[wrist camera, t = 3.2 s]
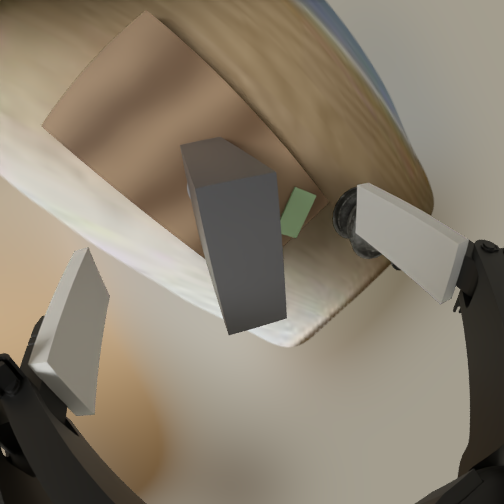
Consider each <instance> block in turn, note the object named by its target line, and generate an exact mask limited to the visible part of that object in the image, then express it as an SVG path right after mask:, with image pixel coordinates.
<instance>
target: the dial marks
mask: <svg viewBox="0 0 504 504" xmlns="http://www.w3.org/2000/svg"><path fill="white" fill-rule="evenodd" d="M315 198H316V195H314V194H312V193H309V192H307V191H304V190H302V189H299V188H297V187H294V189H293V191H292V193H291V195H290V198H289V200H288V202H287V204H286V206H285V209H284V211H283V213H282V215H281V217H280V222H281V234H283V235H287V236H290V237H294V238H297V236H298V234H299V232H300V230H301V227H302V225H303V223H304V221H305V219H306V217H307V215H308V213H309V211H310V209H311V206H312V204H313V202H314V200H315Z"/></svg>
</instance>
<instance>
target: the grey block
mask: <svg viewBox="0 0 504 504" xmlns="http://www.w3.org/2000/svg"><path fill="white" fill-rule="evenodd" d="M180 148H181V153H182V159H183V164H184V169H185V174H186V179H187V191H188V195H189V197H190V199H191V202H192V207H193V212H194V216H195V221H196V225H197V230H198V234H199V238H200V241H201V245H202V248H203V252H204V255H205V259H206V262H207V266H208V269H209V273H210V276H211V279H212V283H213V286H214V289H215V293H216V296H217V299H218V302H219V306H220V309H221V312H222V315H223V319H224V322H225V325H226V328H227V331H228V334H229V335H231V334H235V333H239V332H242V331H246V330H249V329H253V328H256V327H260V326H263V325H266V324H270V323H273V322H276V321H279V320H283V319H286V318H287V313H286V295H285V278H284V263H283V249H282V235H281V222H280V209H279V197H278V186H277V175H276V171H274V170H272V169H271V168H269V167H268V166H266V165H265V164H263V163H262V162H260V161H259V160H257V159H256V158H254V157H252V156H251V155H249V154H248V153H246V152H244V151H243V150H241V149H240V148H238V147H236V146H235V145H233V144H232V143H230V142H228V141H227V140H225V139H223V138H222V137H216V138H211V139H206V140H201V141H196V142H191V143H187V144H182V145H180Z"/></svg>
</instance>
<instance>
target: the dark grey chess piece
mask: <svg viewBox="0 0 504 504" xmlns="http://www.w3.org/2000/svg"><path fill="white" fill-rule="evenodd" d="M356 211H357V187H354V188H352V189H350V190H348V191H347V192H345V193H344V194H343V195H342V196H341V197H340V199H339V200H338V202H337V204H336V206H335V209H334V212H333V225H334V228H335V230H336V232H337V233H338V234H339V235H340V236H342V237H344V238H348V239H350V242H351V245H352V247H353V250H354V251H355V253H356V254H357V255H358V256H360V257H362V258H366V259H371V258H376V257H378V256H380V255H382V254H381V253H380V252H379V251H378V250H376V249H375V248H374V247H373V246H371V245H370V244H369V243H368V242H366V241H365V240H364V239H363V238H361V237H360V236H359V235H357V234H356V233H355V232H356ZM391 264H392V266H393V268H395V269H396V270H401V269H400V268H398V267H397V266H396V265H395V264H394V263H392V262H391Z"/></svg>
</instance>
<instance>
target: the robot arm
mask: <svg viewBox="0 0 504 504" xmlns="http://www.w3.org/2000/svg"><path fill="white" fill-rule="evenodd" d="M355 233H356V234H357V235H359V236H360V237H361V238H363V239H364V240H365V241H366V242H368V243H369V244H370V245H371V246H373V247H374V248H375V249H376V250H378V251H379V252H380V253H381V254H383V255H384V256H385V257H386V258H388V259H389V260H390V261H391V262H392V263H394V264H395V265H396V266H397V267H398V268H400V269H401V270H402V271H404V273H406V274H407V275H408V276H409V277H410V278H411V279H413V280H414V281H415V282H416V283H417V284H418V285H420V286H421V287H422V288H423V289H424V290H425V291H426V292H427V293H429V294H430V295H431V296H432V297H433V298H434V299H435V300H436V301H437V302H438V303H440V304H442V303H444V302H446V301H447V300H449V299H451V298H452V295H453V293H454V290H455V287H456V286H457V287H458V288H459V289H461V290H460V292H459V295H458V298H457V301H456V303H455V306H454V309H453V312H456V309H457V307H458V306H460V310H459V313H462V320H463V326H464V333H465V340H466V348H467V357H468V369H469V385H470V436H469V443H468V446H467V448H466V450H465V452H464V453H463V455H462V459H461V461H460V466H459V472H458V478H457V479H456V480H454V481H452V482H451V483H448V484H447V485H445V486H443V487H441V488H439V489H437V490H435V491H433V492H431V493H430V494H429V495H427V496H426V497H424V498H423V499H421V500H420V501H418V502H417V503H415V504H504V248H499V247H498V246H497V245H495V244H494V243H492V242H490V241H486V240H477V241H476V242H475V243H473V242H471V241H470V240H469V239H468V238H466V237H465V236H463V235H462V234H460V233H459V232H457V231H455V230H454V229H452V228H451V227H449V226H447V225H446V224H444V223H442V222H441V221H439V220H437V219H435V218H434V217H432V216H430V215H429V214H427V213H425V212H423V211H422V210H420V209H418V208H416V207H415V206H413V205H411V204H409V203H407V202H405V201H403V200H402V199H400V198H398V197H396V196H394V195H392V194H390V193H388V192H386V191H384V190H382V189H380V188H378V187H376V186H374V185H372V184H370V183H365V184H359V185H357V211H356V232H355ZM109 297H110V295H109V294H108V291H107V289H106V287H105V285H104V283H103V280H102V278H101V276H100V274H99V271H98V269H97V267H96V265H95V262H94V260H93V257H92V255H91V253H90V250H89V248H88V247H87V248H84V249H81V250H77V251H74V253H73V255H72V257H71V259H70V261H69V263H68V265H67V267H66V269H65V271H64V273H63V275H62V277H61V280H60V282H59V284H58V286H57V288H56V291H55V293H54V295H53V297H52V300H51V302H50V305H49V307H48V309H47V312H46V314H45V316H42V317H41V318H40V320H39V321H38V322H37V324H36V325H35V327H34V329H33V332H32V334H31V338H30V340H29V342H28V346H27V348H26V351H25V354H24V357H23V360H22V363H21V366H20V368H19V367H18V366H17V365H16V364H15V362H14V361H13V360H12V359H11V357H10V356H9V355H8V354H5V353H4V354H0V504H146V503H145V502H144V501H143V500H142V499H140V498H139V497H138V496H137V495H136V494H135V493H134V492H133V491H132V490H131V489H130V488H129V487H128V486H127V485H126V484H125V483H124V482H123V481H122V480H121V479H120V478H119V477H118V476H117V475H116V474H115V473H114V472H113V471H112V470H111V469H110V468H109V467H108V466H107V464H106V463H105V462H104V461H103V460H102V459H101V458H100V457H99V455H98V454H97V453H96V452H95V451H94V450H93V449H92V447H91V446H90V445H89V444H88V442H87V441H86V440H85V438H84V437H83V436H82V435H81V433H80V432H79V431H78V429H77V428H76V427H75V426H74V424H73V423H72V421H71V420H70V419H68V418H67V417H66V412H67V407H68V408H69V409H70V410H71V411H72V412H73V413H74V414H75V415H76V416H83V415H94V414H95V400H96V399H95V398H96V386H97V376H98V367H99V359H100V351H101V343H102V337H103V331H104V324H105V318H106V312H107V307H108V302H109ZM1 447H2V448H3V449H4V450H5V453H6V456H4V455H3V453H2V451H1Z"/></svg>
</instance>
